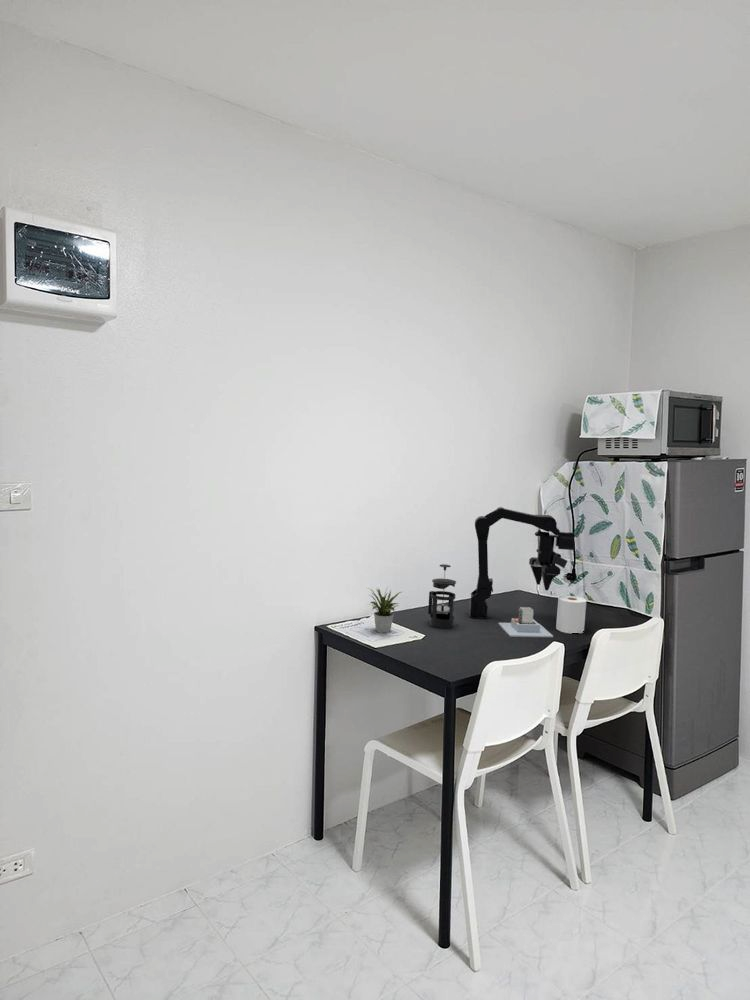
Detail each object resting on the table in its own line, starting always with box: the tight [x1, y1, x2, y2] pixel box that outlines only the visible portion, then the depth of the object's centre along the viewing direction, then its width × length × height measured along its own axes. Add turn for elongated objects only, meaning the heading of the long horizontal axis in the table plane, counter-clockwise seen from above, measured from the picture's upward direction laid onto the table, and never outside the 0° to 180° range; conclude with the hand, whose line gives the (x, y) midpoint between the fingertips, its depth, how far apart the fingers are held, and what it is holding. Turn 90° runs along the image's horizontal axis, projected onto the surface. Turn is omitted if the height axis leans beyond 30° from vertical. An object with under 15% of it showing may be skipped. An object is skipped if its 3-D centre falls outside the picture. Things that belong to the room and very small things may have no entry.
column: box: [517, 606, 534, 624], centre depth 263 cm, size 5×4×8 cm
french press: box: [427, 563, 457, 630], centre depth 265 cm, size 12×9×23 cm
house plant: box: [367, 586, 403, 633], centre depth 254 cm, size 14×14×16 cm
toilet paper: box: [555, 595, 587, 634], centre depth 267 cm, size 10×10×12 cm
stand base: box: [498, 618, 554, 638], centre depth 263 cm, size 16×16×4 cm
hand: (542, 587), depth 276 cm, fingers open, 9 cm apart
